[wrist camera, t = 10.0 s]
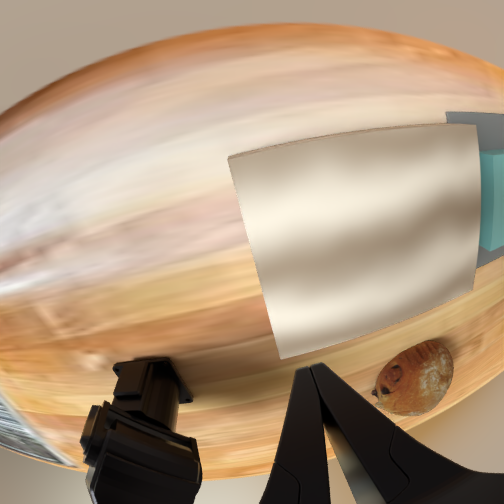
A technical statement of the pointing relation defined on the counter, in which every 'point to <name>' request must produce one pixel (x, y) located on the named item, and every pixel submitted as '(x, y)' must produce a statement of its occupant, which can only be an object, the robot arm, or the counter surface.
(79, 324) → the counter surface
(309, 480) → the robot arm
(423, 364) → the brown rounded dome
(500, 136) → the mat
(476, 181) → the board
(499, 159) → the teal rectangular block
